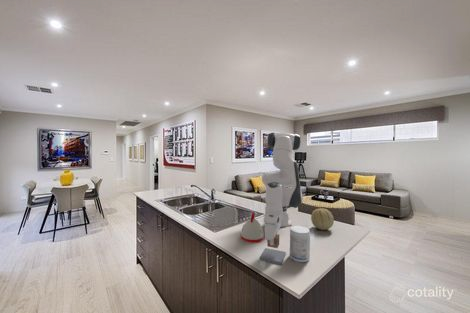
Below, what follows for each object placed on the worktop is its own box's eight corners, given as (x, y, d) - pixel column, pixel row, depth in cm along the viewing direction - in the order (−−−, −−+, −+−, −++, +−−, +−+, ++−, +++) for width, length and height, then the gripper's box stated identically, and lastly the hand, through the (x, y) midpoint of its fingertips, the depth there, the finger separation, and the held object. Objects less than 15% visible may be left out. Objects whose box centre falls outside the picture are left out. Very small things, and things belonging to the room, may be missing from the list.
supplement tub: (295, 251, 108) (295, 224, 108) (312, 257, 102) (313, 229, 101) (286, 258, 101) (286, 229, 101) (304, 265, 95) (305, 234, 94)
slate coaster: (265, 250, 109) (265, 247, 109) (285, 254, 105) (285, 251, 105) (259, 259, 99) (259, 257, 99) (281, 264, 95) (281, 262, 95)
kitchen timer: (264, 234, 130) (265, 211, 130) (261, 243, 117) (262, 218, 117) (243, 232, 134) (244, 209, 134) (238, 240, 120) (239, 216, 120)
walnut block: (269, 242, 105) (269, 232, 105) (279, 244, 103) (279, 234, 103) (267, 246, 100) (267, 236, 100) (277, 248, 98) (277, 238, 98)
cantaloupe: (331, 235, 130) (331, 212, 130) (308, 229, 139) (308, 208, 139) (335, 228, 142) (336, 207, 142) (314, 223, 151) (314, 204, 151)
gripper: (272, 209, 112) (271, 233, 113) (262, 220, 94) (262, 249, 94) (283, 210, 110) (283, 235, 110) (276, 221, 91) (275, 252, 91)
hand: (273, 242), depth 102 cm, fingers closed on walnut block, 5 cm apart
